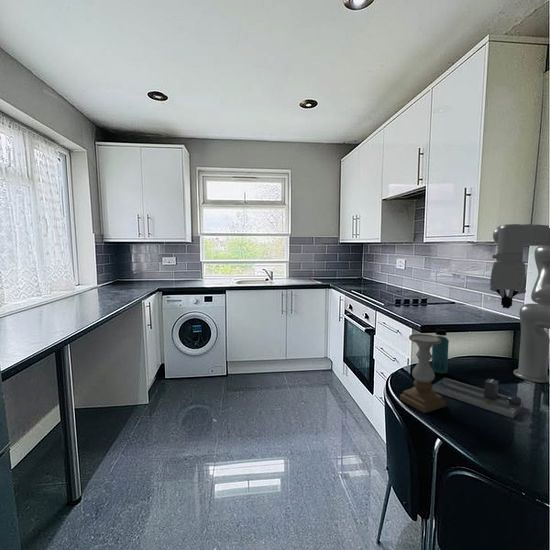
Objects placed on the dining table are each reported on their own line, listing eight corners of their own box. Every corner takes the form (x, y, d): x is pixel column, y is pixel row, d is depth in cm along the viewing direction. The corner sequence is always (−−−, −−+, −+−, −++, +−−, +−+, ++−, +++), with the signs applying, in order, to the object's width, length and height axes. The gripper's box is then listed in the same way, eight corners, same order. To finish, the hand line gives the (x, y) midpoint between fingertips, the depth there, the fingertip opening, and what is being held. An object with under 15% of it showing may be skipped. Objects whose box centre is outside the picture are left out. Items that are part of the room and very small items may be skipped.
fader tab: (487, 394, 113) (488, 378, 113) (497, 397, 111) (498, 380, 110) (483, 397, 111) (484, 381, 110) (493, 401, 108) (494, 383, 108)
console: (444, 382, 129) (444, 373, 128) (523, 406, 109) (523, 397, 108) (431, 390, 121) (431, 382, 121) (513, 418, 101) (514, 408, 101)
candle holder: (424, 413, 104) (427, 344, 102) (399, 399, 114) (401, 335, 112) (446, 406, 109) (449, 339, 107) (420, 393, 119) (422, 332, 117)
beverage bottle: (443, 371, 140) (445, 327, 138) (450, 377, 133) (452, 331, 131) (428, 370, 140) (430, 327, 139) (434, 376, 134) (436, 331, 132)
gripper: (482, 258, 117) (479, 306, 119) (533, 259, 106) (529, 312, 108) (489, 257, 122) (486, 303, 124) (538, 258, 111) (534, 309, 112)
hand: (506, 307), depth 116 cm, fingers closed
